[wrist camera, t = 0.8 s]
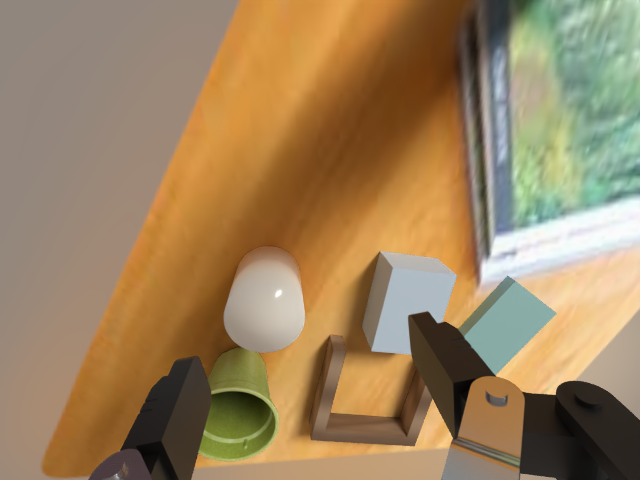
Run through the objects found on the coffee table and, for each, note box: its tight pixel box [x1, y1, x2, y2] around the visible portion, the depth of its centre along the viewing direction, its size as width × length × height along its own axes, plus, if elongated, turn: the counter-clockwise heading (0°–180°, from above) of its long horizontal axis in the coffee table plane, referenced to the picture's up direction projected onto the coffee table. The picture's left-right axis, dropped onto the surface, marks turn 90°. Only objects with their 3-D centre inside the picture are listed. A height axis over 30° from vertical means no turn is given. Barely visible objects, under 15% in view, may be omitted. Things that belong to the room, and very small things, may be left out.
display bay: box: [309, 335, 432, 446], centre depth 43 cm, size 14×14×3 cm
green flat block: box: [458, 276, 557, 375], centre depth 43 cm, size 12×8×2 cm, turn 144°
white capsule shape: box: [224, 246, 305, 353], centre depth 34 cm, size 7×7×9 cm
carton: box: [362, 251, 457, 355], centre depth 38 cm, size 10×7×5 cm
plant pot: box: [198, 347, 279, 462], centre depth 37 cm, size 9×9×9 cm
